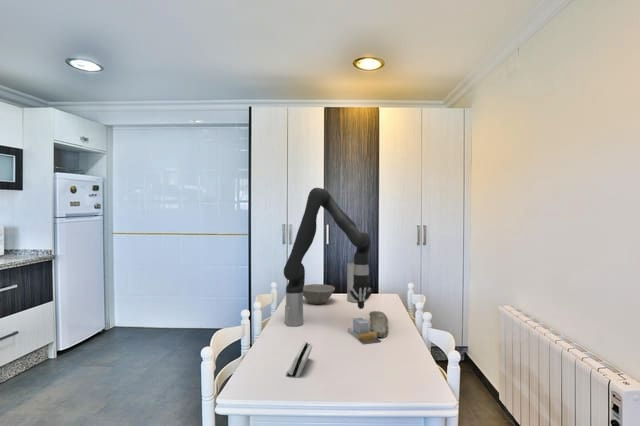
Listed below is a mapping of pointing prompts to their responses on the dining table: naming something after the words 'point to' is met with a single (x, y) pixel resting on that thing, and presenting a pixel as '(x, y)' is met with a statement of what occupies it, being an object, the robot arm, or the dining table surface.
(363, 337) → the rail mount
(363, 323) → the module
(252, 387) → the dining table surface
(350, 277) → the cylinder vase
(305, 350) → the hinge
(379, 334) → the long grey stone
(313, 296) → the ceramic bowl
